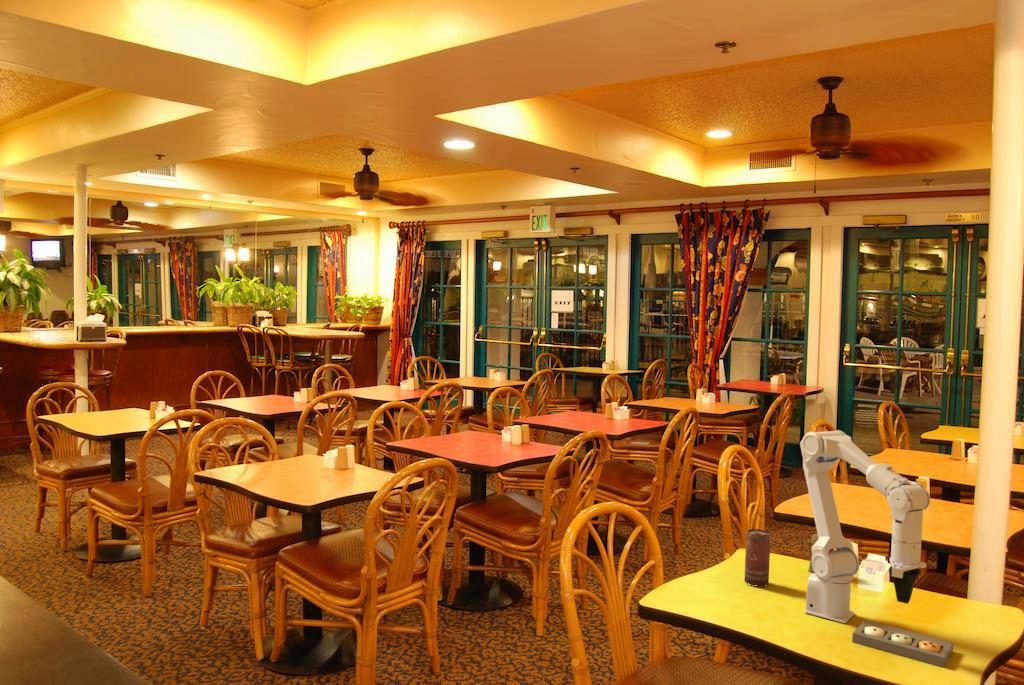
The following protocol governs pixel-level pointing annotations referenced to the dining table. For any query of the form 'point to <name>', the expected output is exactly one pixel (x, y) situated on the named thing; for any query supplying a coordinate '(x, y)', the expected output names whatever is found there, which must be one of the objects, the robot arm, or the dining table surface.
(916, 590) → the dining table surface
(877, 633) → the button one
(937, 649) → the button three
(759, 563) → the can
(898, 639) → the button two
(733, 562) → the dining table surface
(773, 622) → the dining table surface
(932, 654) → the button panel
